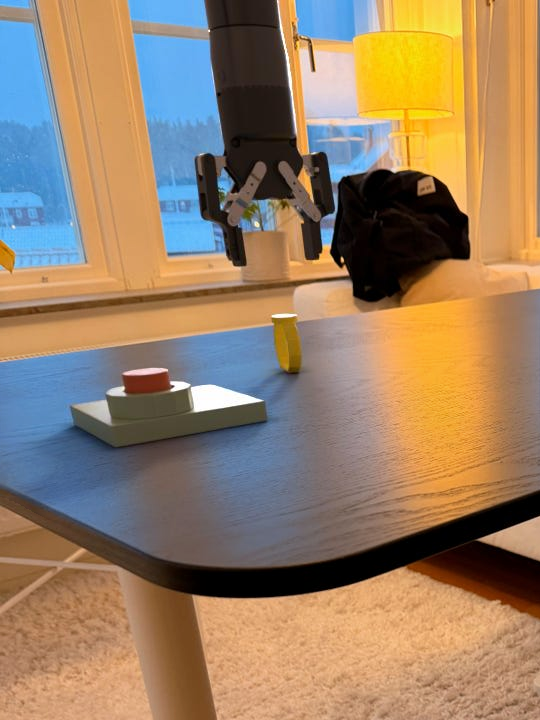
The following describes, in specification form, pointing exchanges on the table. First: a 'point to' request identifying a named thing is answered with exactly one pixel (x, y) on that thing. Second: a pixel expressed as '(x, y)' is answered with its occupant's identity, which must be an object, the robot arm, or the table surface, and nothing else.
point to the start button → (146, 380)
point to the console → (165, 413)
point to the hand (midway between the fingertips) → (276, 263)
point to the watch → (287, 333)
